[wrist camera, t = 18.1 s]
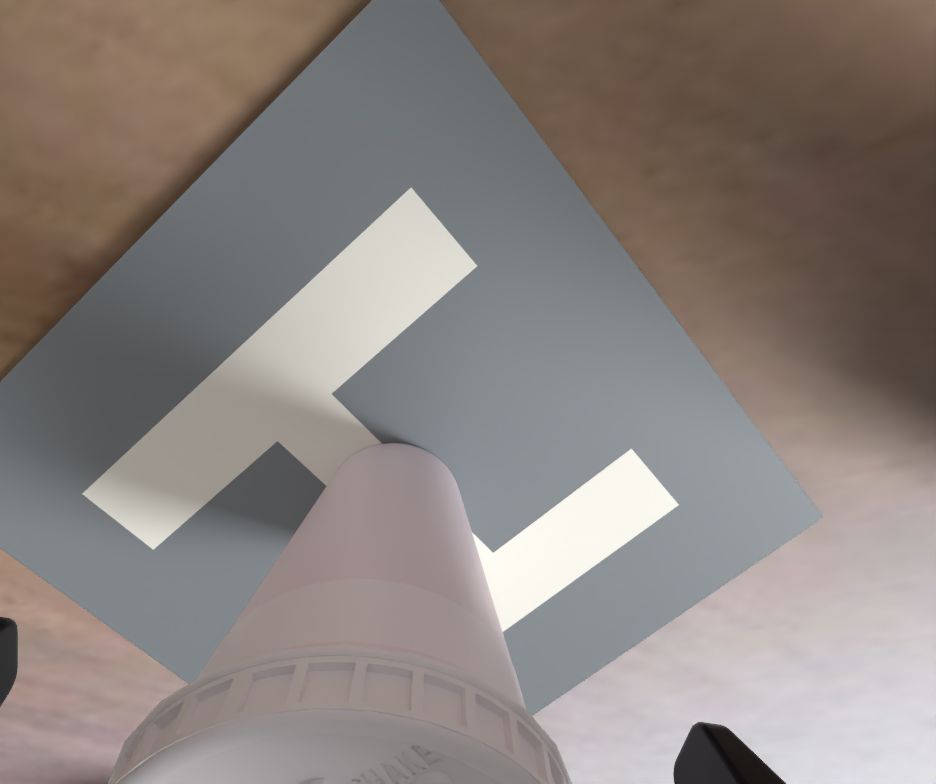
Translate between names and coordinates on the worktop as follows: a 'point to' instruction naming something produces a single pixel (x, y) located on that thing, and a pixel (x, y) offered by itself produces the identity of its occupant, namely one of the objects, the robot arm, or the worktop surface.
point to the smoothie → (358, 655)
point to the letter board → (386, 376)
